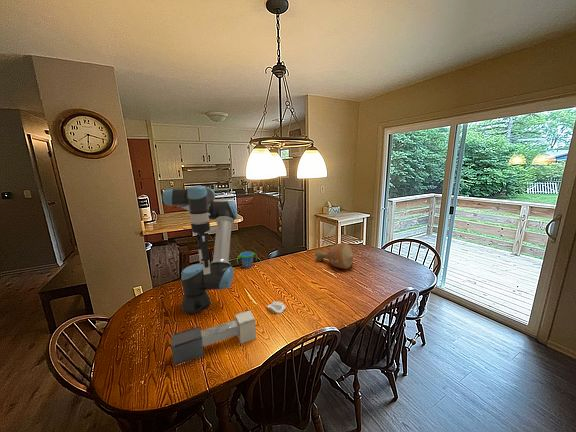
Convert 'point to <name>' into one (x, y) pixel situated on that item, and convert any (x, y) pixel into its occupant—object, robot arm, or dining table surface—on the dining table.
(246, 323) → the socket
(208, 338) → the pale grey rectangular box
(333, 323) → the dining table surface
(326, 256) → the jug
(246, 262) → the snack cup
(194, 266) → the robot arm
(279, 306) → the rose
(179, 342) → the dark grey rectangular box
